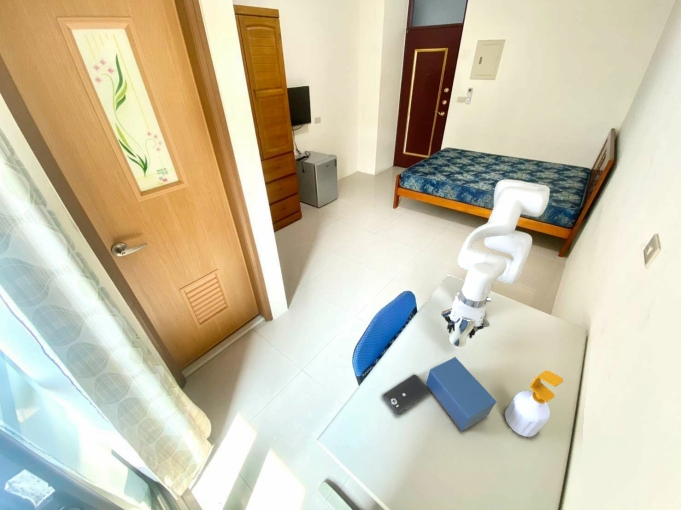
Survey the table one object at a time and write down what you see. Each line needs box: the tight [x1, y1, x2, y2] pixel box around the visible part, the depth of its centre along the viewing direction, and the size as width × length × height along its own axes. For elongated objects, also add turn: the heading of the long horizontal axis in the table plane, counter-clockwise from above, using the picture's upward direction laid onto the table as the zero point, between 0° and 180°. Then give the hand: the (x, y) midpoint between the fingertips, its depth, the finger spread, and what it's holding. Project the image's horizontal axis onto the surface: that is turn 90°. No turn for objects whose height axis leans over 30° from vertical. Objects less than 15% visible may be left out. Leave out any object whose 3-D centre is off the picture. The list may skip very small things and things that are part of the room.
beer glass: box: [448, 317, 474, 348], centre depth 100 cm, size 7×7×15 cm
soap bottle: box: [504, 369, 564, 438], centre depth 81 cm, size 9×9×25 cm
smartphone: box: [382, 374, 430, 416], centre depth 95 cm, size 8×15×1 cm, turn 121°
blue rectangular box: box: [425, 356, 497, 432], centre depth 91 cm, size 17×11×10 cm, turn 25°
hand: (459, 332), depth 101 cm, fingers closed on beer glass, 6 cm apart
